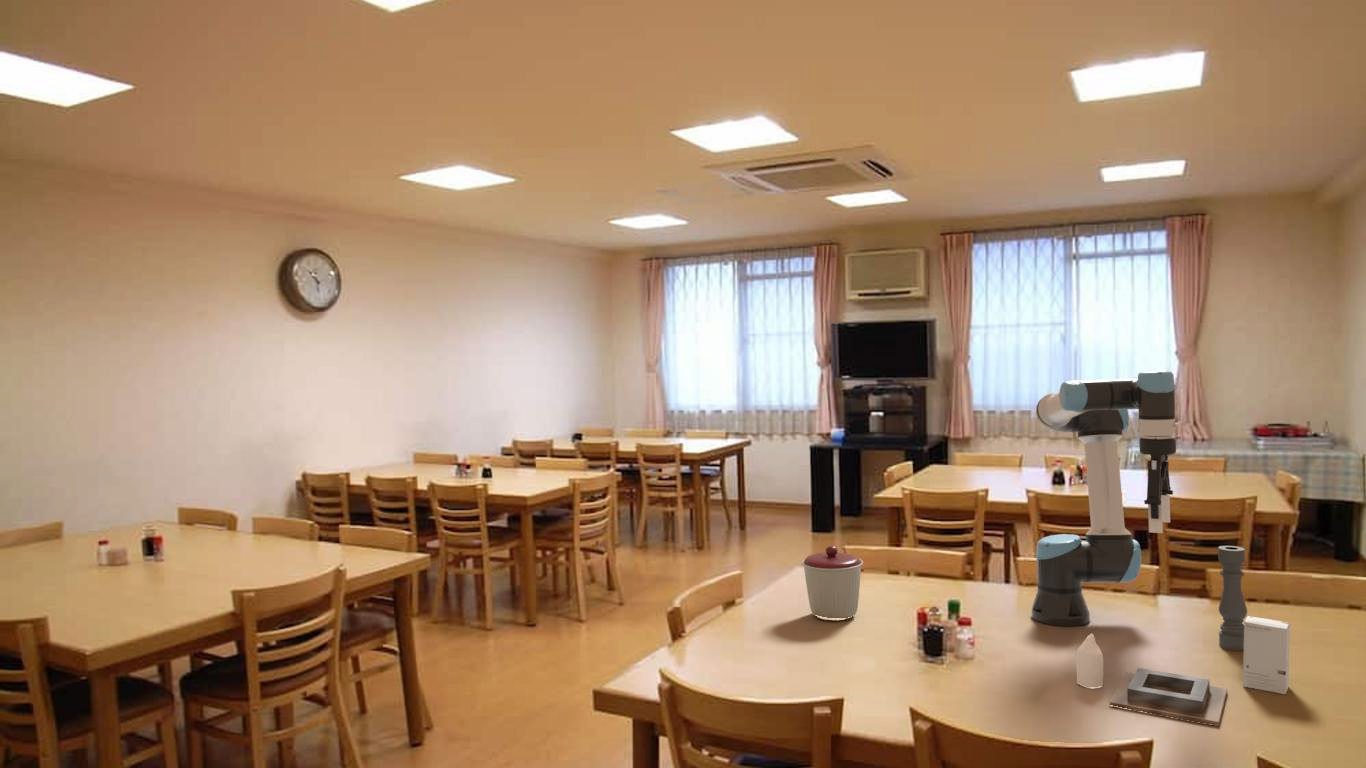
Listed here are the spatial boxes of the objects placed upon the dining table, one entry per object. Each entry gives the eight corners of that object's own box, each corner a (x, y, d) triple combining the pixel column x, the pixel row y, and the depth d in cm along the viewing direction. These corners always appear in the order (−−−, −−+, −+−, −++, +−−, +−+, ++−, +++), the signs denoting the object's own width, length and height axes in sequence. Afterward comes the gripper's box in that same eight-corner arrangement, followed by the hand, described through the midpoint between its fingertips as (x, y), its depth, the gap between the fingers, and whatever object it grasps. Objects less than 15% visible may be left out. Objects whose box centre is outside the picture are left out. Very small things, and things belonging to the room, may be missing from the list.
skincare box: (1242, 687, 194) (1241, 621, 193) (1246, 679, 198) (1245, 614, 198) (1288, 695, 188) (1286, 627, 188) (1291, 686, 193) (1290, 620, 192)
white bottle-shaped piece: (1077, 627, 203) (1103, 630, 200) (1078, 678, 203) (1105, 682, 200) (1073, 635, 198) (1100, 638, 195) (1075, 687, 198) (1102, 691, 195)
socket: (1109, 706, 187) (1109, 690, 186) (1126, 676, 203) (1125, 661, 203) (1218, 726, 175) (1218, 709, 175) (1226, 693, 191) (1226, 677, 191)
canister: (874, 611, 261) (871, 542, 260) (851, 629, 246) (848, 555, 245) (818, 604, 271) (815, 537, 270) (793, 621, 255) (790, 550, 255)
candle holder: (1246, 643, 220) (1243, 546, 220) (1250, 651, 215) (1248, 551, 214) (1217, 641, 223) (1215, 545, 222) (1221, 649, 217) (1218, 550, 217)
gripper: (1168, 442, 191) (1171, 538, 191) (1181, 432, 211) (1184, 519, 212) (1130, 442, 195) (1133, 535, 196) (1147, 431, 215) (1149, 516, 216)
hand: (1159, 527), depth 204 cm, fingers open, 13 cm apart
